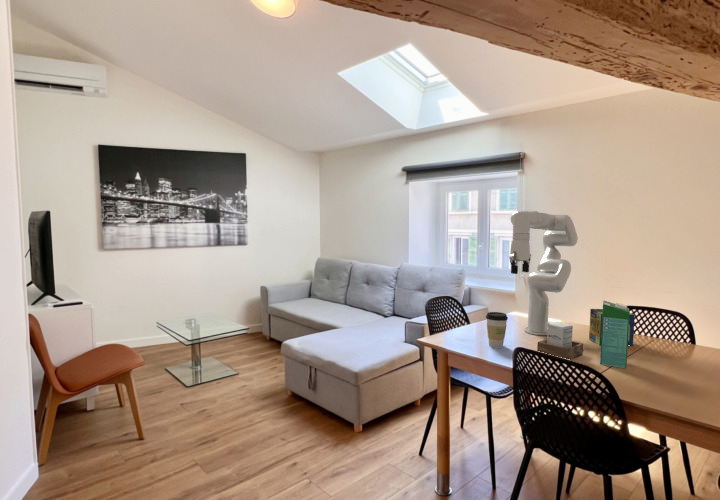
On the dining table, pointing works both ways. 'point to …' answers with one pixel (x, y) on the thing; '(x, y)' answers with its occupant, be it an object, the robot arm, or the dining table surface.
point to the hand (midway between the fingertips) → (519, 272)
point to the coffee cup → (496, 328)
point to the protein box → (596, 326)
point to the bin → (561, 349)
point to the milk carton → (614, 334)
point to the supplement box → (560, 335)
